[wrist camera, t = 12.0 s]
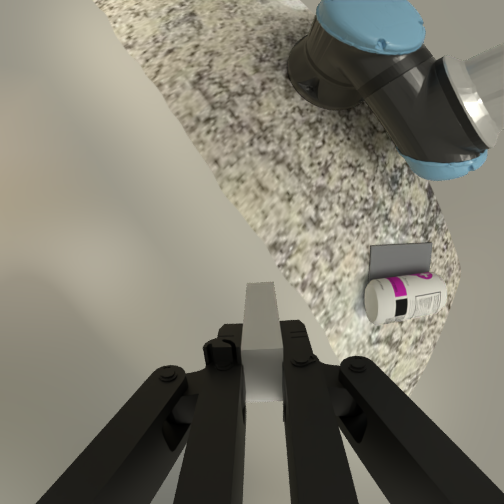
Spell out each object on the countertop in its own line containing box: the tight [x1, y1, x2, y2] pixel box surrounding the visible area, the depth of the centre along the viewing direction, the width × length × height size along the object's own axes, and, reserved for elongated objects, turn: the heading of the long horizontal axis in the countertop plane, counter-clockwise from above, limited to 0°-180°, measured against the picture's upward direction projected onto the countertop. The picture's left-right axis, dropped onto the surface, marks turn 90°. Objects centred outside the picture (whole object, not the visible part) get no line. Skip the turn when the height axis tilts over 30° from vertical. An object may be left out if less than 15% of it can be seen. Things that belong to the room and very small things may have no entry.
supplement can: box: [364, 272, 447, 325], centre depth 46 cm, size 8×8×15 cm
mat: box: [365, 243, 432, 310], centre depth 49 cm, size 13×14×1 cm
